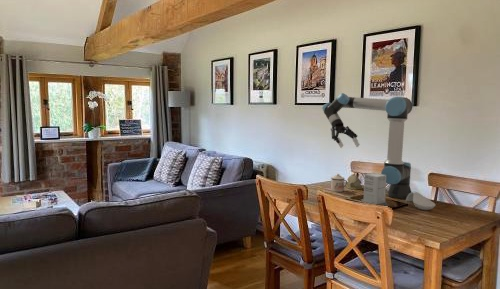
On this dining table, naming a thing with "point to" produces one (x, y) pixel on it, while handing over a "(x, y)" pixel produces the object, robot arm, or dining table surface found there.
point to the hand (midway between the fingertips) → (350, 146)
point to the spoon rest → (420, 201)
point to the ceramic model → (354, 182)
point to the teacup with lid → (338, 183)
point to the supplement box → (374, 188)
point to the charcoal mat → (378, 204)
